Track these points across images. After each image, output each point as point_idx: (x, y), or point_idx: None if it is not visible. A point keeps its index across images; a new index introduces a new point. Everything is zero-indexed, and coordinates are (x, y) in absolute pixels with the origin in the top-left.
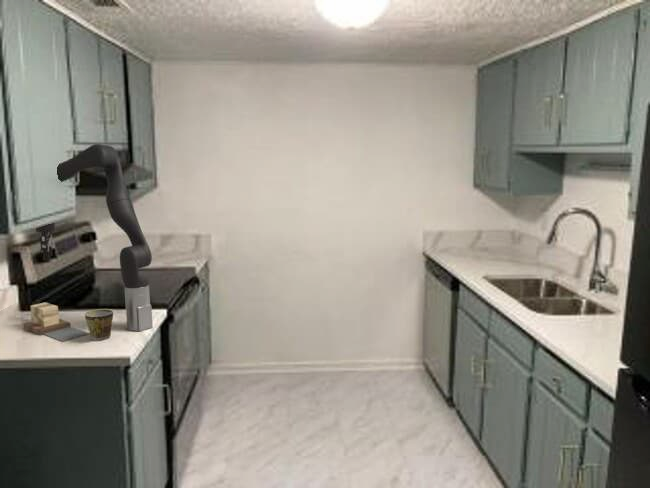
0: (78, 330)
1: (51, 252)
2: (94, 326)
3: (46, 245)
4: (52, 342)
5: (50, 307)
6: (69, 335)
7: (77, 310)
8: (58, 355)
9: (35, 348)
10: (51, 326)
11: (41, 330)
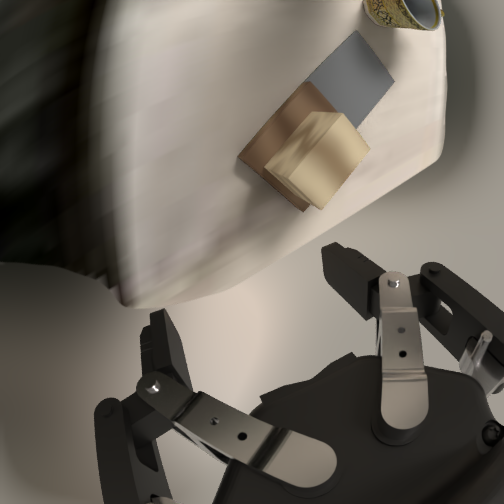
0: (337, 56)
1: (169, 332)
2: (420, 17)
3: (467, 288)
4: (394, 100)
5: (353, 132)
6: (367, 71)
7: (113, 134)
8: (439, 79)
9: (414, 124)
10: None
11: None
